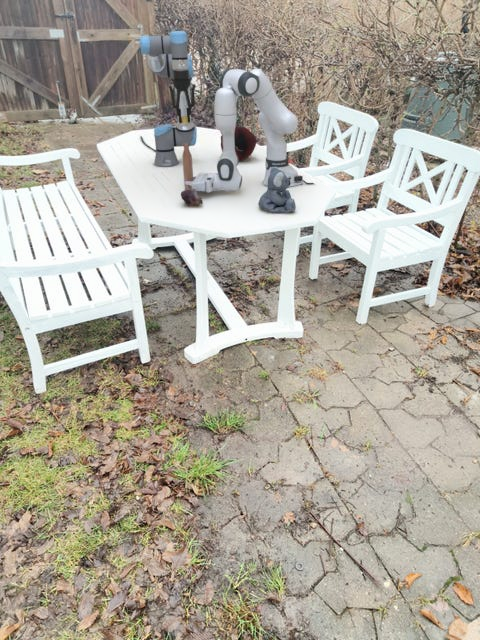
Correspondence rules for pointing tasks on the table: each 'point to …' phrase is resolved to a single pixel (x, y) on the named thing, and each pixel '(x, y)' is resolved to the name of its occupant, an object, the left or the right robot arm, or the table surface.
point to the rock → (191, 197)
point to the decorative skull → (243, 142)
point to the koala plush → (277, 193)
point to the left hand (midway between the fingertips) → (184, 122)
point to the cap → (184, 119)
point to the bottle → (187, 166)
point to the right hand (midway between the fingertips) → (187, 180)
